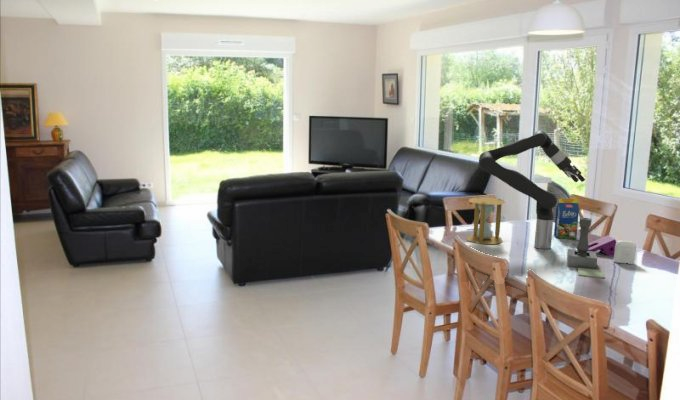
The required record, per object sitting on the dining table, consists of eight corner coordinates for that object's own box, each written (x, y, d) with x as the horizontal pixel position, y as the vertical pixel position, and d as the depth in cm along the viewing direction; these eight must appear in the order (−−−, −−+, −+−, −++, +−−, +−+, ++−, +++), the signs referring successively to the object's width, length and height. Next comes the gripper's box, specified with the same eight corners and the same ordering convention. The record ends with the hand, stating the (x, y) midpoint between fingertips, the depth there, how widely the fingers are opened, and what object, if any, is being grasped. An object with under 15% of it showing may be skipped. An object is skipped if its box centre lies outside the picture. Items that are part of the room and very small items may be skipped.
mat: (578, 275, 293) (578, 274, 293) (577, 268, 304) (577, 267, 304) (604, 278, 289) (604, 277, 289) (602, 271, 300) (602, 270, 300)
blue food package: (576, 238, 367) (580, 199, 362) (557, 238, 367) (560, 199, 362) (572, 236, 373) (576, 197, 368) (553, 236, 373) (557, 197, 368)
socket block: (567, 266, 308) (568, 255, 307) (566, 259, 321) (567, 249, 320) (596, 269, 303) (597, 258, 302) (594, 262, 316) (595, 251, 315)
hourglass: (470, 233, 375) (473, 195, 371) (506, 238, 366) (509, 198, 361) (461, 241, 354) (464, 201, 350) (499, 246, 345) (502, 205, 340)
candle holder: (572, 262, 315) (577, 217, 310) (583, 262, 315) (588, 217, 310) (578, 266, 309) (582, 220, 304) (589, 266, 309) (594, 220, 304)
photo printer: (633, 262, 317) (636, 240, 315) (634, 264, 313) (637, 242, 311) (612, 260, 320) (615, 238, 318) (613, 262, 316) (616, 240, 314)
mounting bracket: (590, 265, 332) (620, 252, 330) (584, 252, 331) (615, 239, 329) (583, 260, 341) (612, 247, 340) (578, 247, 340) (607, 235, 338)
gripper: (550, 165, 329) (570, 186, 329) (560, 163, 315) (580, 185, 315) (560, 156, 329) (580, 177, 329) (570, 154, 315) (591, 175, 315)
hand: (580, 181), depth 322 cm, fingers open, 8 cm apart
